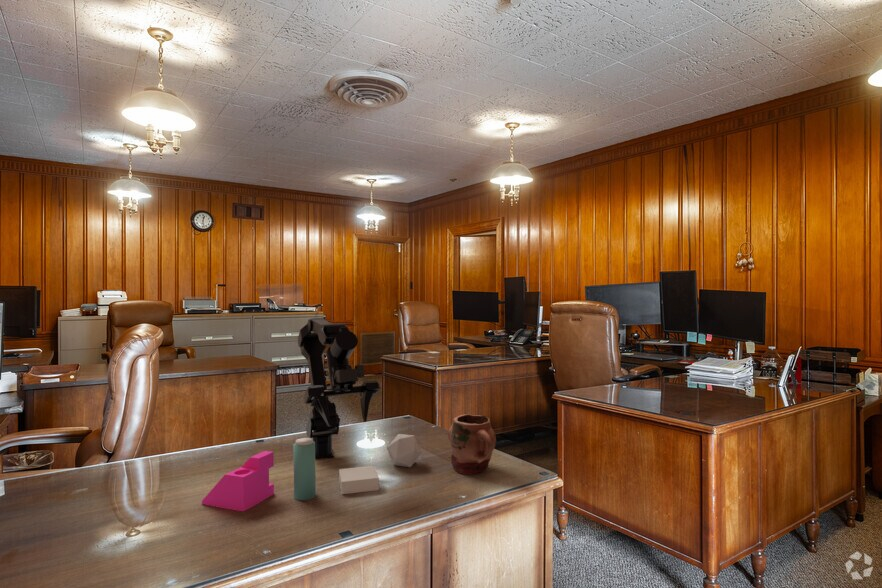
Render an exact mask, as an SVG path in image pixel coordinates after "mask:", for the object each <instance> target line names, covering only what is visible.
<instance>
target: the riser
mask: <svg viewBox="0 0 882 588" xmlns="http://www.w3.org/2000/svg"><path fill="white" fill-rule="evenodd" d="M338 474H339V475H338V477H339V478H338V482H339V486H340V488H339V489H340V493H341V495H348V494H354V493H364V492H373V491H380V477H379V475H378V472H377V470H376V468H375V465H369V466H360V467H359V466H358V467H349V468H338Z"/></svg>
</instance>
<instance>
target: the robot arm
mask: <svg viewBox="0 0 882 588" xmlns="http://www.w3.org/2000/svg"><path fill="white" fill-rule="evenodd" d="M298 333H299V334H298V335H297V336H298V337H297V346H298V348H300V354H301V355H302V356H303V357H304V358H305V360H307V366H308V373H309V374H308V375H309V380H310V385H309V386H308V387H307V388H306V391H305V393H304V395H303V396H304V403H305V404H306V405H307V404H308V405H309V404H310V406H311V407H312V408H311V410H310V412H309V417H308V419H307V423H306V427H305V433H306V436H307V438H312V439H313V441H314V442H315V460H316V459H317V460H319V459H329V458H334V457H335V451H334V449H333V436H335V435H339V431H340V424H341V423H340V421H341V418H340V416H339V414H338V413H337V408H336V404H335V403H334V402H331V400H329V398H330V397H337V396H338V397H339V396H346V395H347V396H349V395H358V394H359V395H360V396H361V397H360V399H359V402H360V403H359V404H360V408H361V409H360V410H361V415H362V421H363V422H364V423H366V422H367V420H368V413H369V406H370V402H371V400H372V399H373V398H374V397H376V396H377V395H378V393H379V391H381V383H380V382H379V381H378V380H376V379H375V380H374V379H373V380H365V381H363V382H362V384H361V385H358V386H354V385H356V383H357V382H359V378H365V376H366V374H365V367H364V364H357V365H356V364H355V366H354V368H352V364H350V357H351V356H352V354H353V352H354V351H355V349H356V348H357V345H358V343H359V339H358V336H356V334H355V332H352V331H351V330H350V329H349V326H347V324H345V323H343V322H342V323H339V322H338V323H331V322H329V321H327V320H326V318H323V317H319V318H318V317H317V318H316V317H314V318H309V319H308V321H307V323H306V324H305V325H304V326H302V328H300V330H299V332H298ZM326 346H328V348H327V349H326ZM325 349H326V351H325ZM324 351H325V357H326V362H327V370H328V379H329V384H330V385H329V386H330V388H328V387H327V380H326V374H325V373H326V372H325V369H324V359H323V354H324Z"/></svg>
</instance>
